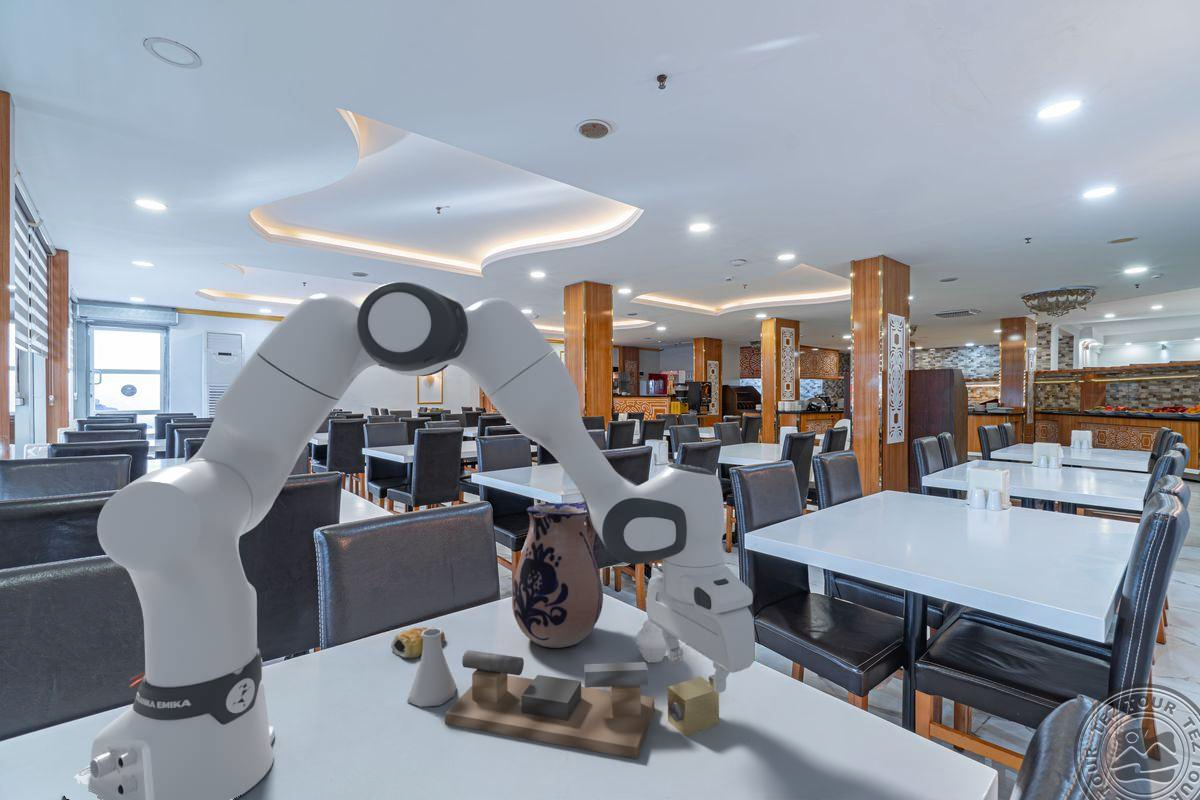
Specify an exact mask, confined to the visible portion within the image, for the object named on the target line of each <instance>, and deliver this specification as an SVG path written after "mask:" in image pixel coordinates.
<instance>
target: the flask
mask: <svg viewBox="0 0 1200 800" xmlns="http://www.w3.org/2000/svg"><path fill="white" fill-rule="evenodd" d="M427 628H428V629H426V630H424V631H423V632H422V634H421V638H423V651H422V654H421V655H420V662H419V665H418V668H417V671H416V674H415V677H414V680H413V683H412V687H411V689H410V691H409V695H408V698H407V702H408V703H411V705H416V706H418V707H422V708H423V707H424V708H425V707H434V706H436V707H437V706H441V705H443V704H444V703H446V702H448V701H449V700H451V699H452V698H453V697H455V694H456V690H457V683H456V681H455V679H454V677H453V674H452V672H451V670H450V667H449V665H448V662H447V660H446V658H445V654H444V650H443V645H442V644H441V635H442V633H443V632H444V630H443V628H439V627H435V628H433V627H427Z"/></svg>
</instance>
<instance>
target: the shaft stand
mask: <svg viewBox="0 0 1200 800" xmlns="http://www.w3.org/2000/svg"><path fill="white" fill-rule="evenodd" d="M646 662H647V661H640V662H637V661H636V662H617V663H615V662H613V663H588V664H586V663H585V664H584V665H583V669H584V671H583V679H584V680H583V681H584V682H583V683H584V686H582V681H581V680H575V679H571V678H570V679H569V678H562V677H555V676H549V675H542V674H537V675H536V676H535V677H534V678H529V677H522V676H521V675H522V673H523V670H524V664H525V661H524V658H523V657H519V656H513V655H505V654H499V653H490V652H483V651H477V650H472V649H471V650H470V649H468V650H465V652H464V654H463V656H462V662H461V663H462V667H463V668H467V669H474V671H473V673H472V675H471V679H472V680H471V681H472V682H471V683H472V684H471V686H470V687H469V688H468V689H467V690H466V691H465V692H464V693H463V695H461V696H460V697H459V698H458V699H457V700H456V702H454V703H453V704H452V705H451V706H450V708H448V709H447V710H446V711H445V712H444V724H445V725H451V726H455V727H462V728H467V729H472V730H478V731H483V732H489V733H493V734H500V735H505V736H510V737H511V736H512V737H517V738H522V739H526V740H531V741H536V742H537V741H538V742H542V743H548V744H553V745H559V746H565V747H569V748H575V749H580V750H586V751H592V752H597V753H602V754H607V755H612V756H618V757H625V758H629V759H635V760H637V759H638V758H639V754H640V751H641V749H642V746H643V743H644V741H645V737H646V734H647V731H648V729H649V725H650V722H651V719H652V716H653V713H654V710H655V697H651V696H647V695H646V696H645V695H642V692H641V689H642V688H641V686H648V685H649V669H648V665H647V663H646ZM513 675H514V676H513ZM604 687H606V688H607V687H608V688H610V689H609V690H607V689H598V688H604Z"/></svg>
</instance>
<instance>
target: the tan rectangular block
mask: <svg viewBox="0 0 1200 800" xmlns="http://www.w3.org/2000/svg"><path fill="white" fill-rule="evenodd" d="M709 684H710V683H709V680H706V679H705V678H704V677H702V676H697V677H695V678H691V679H688V680H684V681H682V682H679V683H676V684H673V685H669V686H667V722H668V723H670V724H671V725H672V726H673V727H674V728H675V729H676V730H677V731H678V732H680V733H681V734H682V735H683V736H684V737H687V736H690V735H692V734H695V733H697V732H700V731H703V730H705V729H708V728H711V727H713V726H715V725H716V726H717V725H719V724H720V693H716V692H715V691H713V690H712V689H711V688H710V687H709Z"/></svg>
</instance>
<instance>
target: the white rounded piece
mask: <svg viewBox="0 0 1200 800" xmlns="http://www.w3.org/2000/svg"><path fill="white" fill-rule="evenodd" d="M642 624H643V625H642V628H641V629H640V630H638V632H637V634H636V637H635V642H636V644H637V648H638V649H639V652H640V653H641V655H642V657H643V659H644V660H645V661H646V660H647V661H649V662H648V663H651V662H657V663H660V662H662V661H663V660H664V658H665V655H666V653H668V648H667V646H666V643H665V640H664V637H663V633H662V629H661V628H660V627H658V626H657V625H655V624H653V623H652V622H650V621H649V619H647V620H645V621H644V623H642ZM647 661H646V662H647ZM659 661H660V662H659Z"/></svg>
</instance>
